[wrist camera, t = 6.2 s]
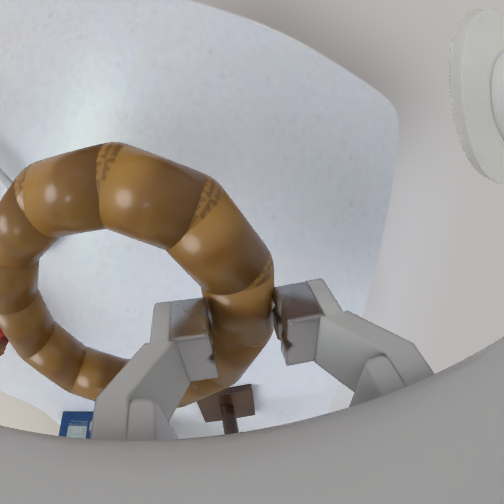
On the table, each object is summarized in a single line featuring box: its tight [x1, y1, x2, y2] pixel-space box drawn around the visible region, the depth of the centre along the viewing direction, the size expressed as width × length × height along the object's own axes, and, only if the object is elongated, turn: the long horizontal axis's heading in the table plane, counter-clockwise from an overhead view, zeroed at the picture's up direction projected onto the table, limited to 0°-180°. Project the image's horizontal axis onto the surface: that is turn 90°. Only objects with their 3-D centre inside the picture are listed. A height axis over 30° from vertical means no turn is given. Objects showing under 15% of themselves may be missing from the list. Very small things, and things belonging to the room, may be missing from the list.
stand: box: [197, 384, 255, 435], centre depth 35 cm, size 8×8×13 cm
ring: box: [0, 142, 274, 408], centre depth 9 cm, size 10×10×2 cm
